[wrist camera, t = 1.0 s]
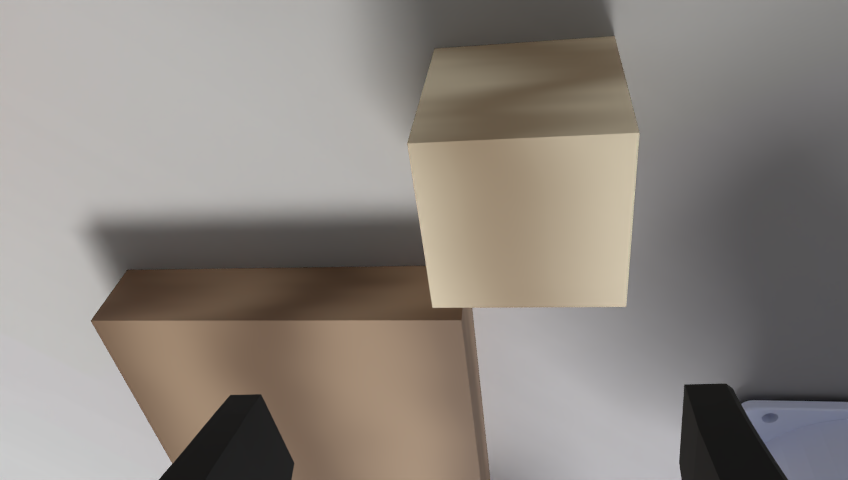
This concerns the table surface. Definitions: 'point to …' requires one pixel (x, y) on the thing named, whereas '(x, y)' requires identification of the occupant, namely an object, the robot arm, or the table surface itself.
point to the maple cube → (526, 174)
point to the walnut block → (307, 364)
